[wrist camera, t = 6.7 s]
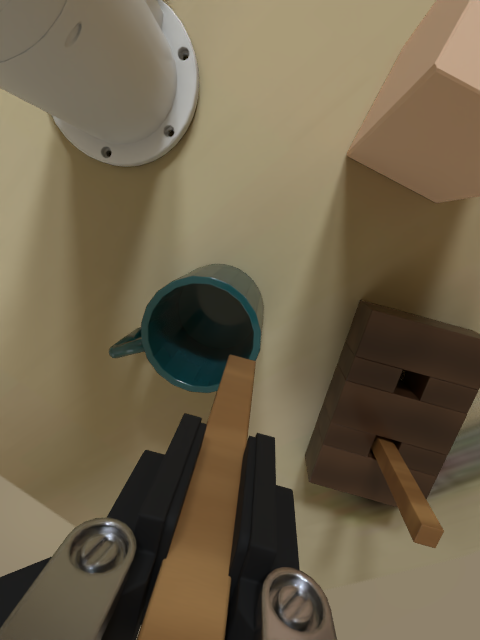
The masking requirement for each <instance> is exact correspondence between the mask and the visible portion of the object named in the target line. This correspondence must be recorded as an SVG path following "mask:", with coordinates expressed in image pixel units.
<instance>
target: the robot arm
mask: <svg viewBox="0 0 480 640" xmlns="http://www.w3.org/2000/svg"><path fill="white" fill-rule="evenodd" d="M185 56H188V59H186V60H183V58H184V57H185ZM0 88H1V89H3V90H5V91H7V92H9V93H11V94H13V95H15V96H17V97H19V98H20V99H22V100H24V101H26V102H28V103H30V104H32V105H34V106H36V107H38V108H40V109H41V110H43V111H45V112H47V113H49V114H51V115H52V117H53V119H54V121H55V123H56V125H57V126H58V127H59V129H60V130H61V132H62V133H63V134H64V136H65V137H66V138H67V139H68V140H69V141H70V142H71V143H72V144H73V145H74V146H75V147H76V148H78V149H79V150H81V151H82V152H83V153H85V154H86V155H88V156H90V157H92V158H94V159H96V160H99V161H101V162H104V163H107V164H110V165H115V166H124V167H129V166H139V165H143V164H146V163H149V162H152V161H155V160H156V159H158V158H160V157H161V156H163V155H165V154H166V153H167V152H169V151H170V150H171V149H172V148H173V147H174V146H175V145H176V144H177V143H178V142H179V140H180V139H181V138H182V137H183V135H184V134H185V133H186V131H187V129H188V127H189V125H190V123H191V121H192V119H193V116H194V112H195V109H196V105H197V101H198V93H199V70H198V64H197V60H196V55H195V51H194V49H193V46H192V43H191V41H190V38H189V36H188V34H187V32H186V30H185V28H184V26H183V24H182V22H181V21H180V20H179V18H178V17H177V16H176V14H175V13H174V12H173V10H172V9H171V8H170V7H169V6H168V5H167V4H166V3H165V2H163V1H162V0H0ZM171 131H174V134H173V136H172V137H170V136H169V133H170V132H171ZM110 151H111V156H110V157H109V155H108V154H109V152H110ZM201 419H202V418H200V417H197V416H193V415H189V414H186V413H185V414H184V415H183V417H182V420H181V422H180V424H179V426H178V428H177V430H176V433H175V435H174V437H173V439H172V441H171V443H170V446H169V448H168V450H167V452H166V454H165V455H164V454H160V453H156V452H153V451H149V450H145V451H144V452H143V454H142V456H141V457H140V459H139V461H138V463H137V465H136V466H135V468H134V470H133V472H132V473H131V475H130V477H129V479H128V481H127V482H126V484H125V486H124V488H123V489H122V491H121V493H120V495H119V497H118V498H117V500H116V502H115V504H114V505H113V507H112V509H111V511H110V513H109V514H108V516H107V517H106V518H95V519H92V520H89V521H86V522H84V523H82V524H80V525H79V526H77V527H75V528H74V530H73V531H72V532H71V533H70V534H69V535H68V536H67V537H66V538H65V540H64V541H63V543H62V544H61V545H60V547H59V548H58V549H57V551H56V552H55V554H54V555H53V556H52V557H50V558H47V559H45V560H42V561H40V562H37V563H35V564H32V565H30V566H27V567H25V568H22V569H20V570H17V571H15V572H12V573H10V574H7V575H5V576H2V577H0V640H136V638H137V635H138V631H139V629H140V626H141V625H142V622H143V619H144V616H145V613H146V610H147V607H148V603H149V600H150V597H151V594H152V591H153V588H154V585H155V582H156V579H157V576H158V573H159V569H160V566H161V563H162V561H163V560H164V559H166V558H167V555H168V552H169V548H170V545H171V542H172V539H173V536H174V532H175V529H176V526H177V523H178V520H179V516H180V513H181V510H182V507H183V504H184V501H185V497H186V494H187V491H188V488H189V485H190V481H191V478H192V475H193V472H194V469H195V465H196V462H197V459H198V456H199V453H200V449H201V446H202V443H203V439H204V435H205V431H206V427H207V424H204V423H201ZM228 576H230V577H231V589H230V598H229V607H228V616H227V625H226V634H225V640H337V637H336V633H335V628H334V623H333V618H332V613H331V609H330V606H329V603H328V599H327V597H326V595H325V594H324V592H323V590H322V589H321V587H320V586H319V585H318V584H317V583H316V582H315V581H314V580H313V579H312V578H311V577H310V576H308V575H307V574H305V573H304V572H302V571H300V570H299V558H298V546H297V534H296V522H295V510H294V498H293V491H292V490H291V489H289V488H285V487H281V486H278V485H276V469H275V438H274V437H271V436H267V435H263V434H260V433H257V434H256V437H252V436H249V438H248V441H247V444H246V448H245V451H244V454H243V460H242V469H241V477H240V485H239V493H238V501H237V509H236V517H235V526H234V534H233V542H232V550H231V558H230V566H229V574H228Z"/></svg>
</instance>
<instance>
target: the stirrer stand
mask: <svg viewBox="0 0 480 640" xmlns="http://www.w3.org/2000/svg"><path fill="white" fill-rule="evenodd" d="M403 369H404V370H407V373H406V375H405V377H404V380H403V381H400V380H399V378H400V375H401V373H402V371H403ZM479 388H480V334H478V333H476V332H474V331H472V330H469V329H465V328H461V327H458V326H454V325H450V324H447V323H443V322H439V321H436V320H432V319H428V318H425V317H421V316H417V315H414V314H410V313H406V312H403V311H399V310H395V309H392V308H388V307H384V306H381V305H377V304H373V303H370V302H366V301H362V300H360V302H359V305H358V308H357V311H356V313H355V316H354V319H353V322H352V325H351V327H350V330H349V333H348V336H347V339H346V342H345V344H344V347H343V350H342V353H341V356H340V358H339V361H338V364H337V366H336V369H335V372H334V375H333V378H332V380H331V383H330V386H329V389H328V392H327V394H326V397H325V400H324V403H323V406H322V409H321V411H320V414H319V417H318V420H317V423H316V425H315V428H314V431H313V434H312V437H311V440H310V442H309V445H308V448H307V451H306V454H305V459H306V466H307V472H308V479H309V482H311V483H314V484H318V485H321V486H325V487H328V488H332V489H335V490H339V491H342V492H346V493H349V494H353V495H356V496H360V497H364V498H367V499H371V500H374V501H378V502H381V503H385V504H388V505H392V506H395V507H398V506H397V504H396V502H395V500H394V497H393V495H392V493H391V491H390V489H389V486H388V484H387V482H386V480H385V478H384V475H383V473H382V471H381V469H380V467H379V464H378V462H377V460H376V458H375V456H374V453H373V451H372V449H371V446H372V444H373V441H374V439H375V437H376V435H378V436H381V437H385V438H388V439H392V441H393V443H394V444H395V446H396V448H397V450H398V451H399V453H400V455H401V457H402V458H403V460H404V462H405V464H406V465H407V467H408V469H409V471H410V472H411V474H412V476H413V478H414V479H415V481H416V483H417V485H418V486H419V488H420V490H421V492H422V493H423V495H424V497H425V499H427V497H428V495H429V493H430V491H431V489H432V486H433V484H434V482H435V480H436V478H437V476H438V474H439V472H440V470H441V468H442V465H443V463H444V461H445V459H446V457H447V455H448V453H449V451H450V449H451V447H452V445H453V443H454V441H455V439H456V437H457V435H458V432H459V430H460V428H461V426H462V424H463V422H464V420H465V418H466V416H467V413H468V411H469V409H470V407H471V405H472V403H473V401H474V398H475V396H476V394H477V392H478V390H479Z"/></svg>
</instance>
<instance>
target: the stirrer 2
mask: <svg viewBox="0 0 480 640" xmlns="http://www.w3.org/2000/svg"><path fill="white" fill-rule="evenodd" d="M371 449H372V451H373V453H374V456H375V458H376V460H377V462H378V464H379V467H380V469H381V471H382V473H383V475H384V478H385V480H386V482H387V484H388V486H389V489H390V491H391V493H392V495H393V497H394V500H395V502H396V504H397V506H398V508H399V511H400V513H401V515H402V517H403V520H404V522H405V524H406V526H407V528H408V531H409V533H410V535H411V537H412V539H413V542H415V543H418V544H422V545H425V546H429V547H432V548H436V546H437V544H438V542H439V540H440V538H441V536H442V534H443V532H444V530H443V528H442V527H441V525H440V523H439V521H438V520H437V518H436V516H435V514H434V513H433V511H432V509H431V507H430V506H429V504H428V502H427V500H426V499H425V497H424V495H423V493H422V492H421V490H420V488H419V486H418V485H417V483H416V481H415V479H414V478H413V476H412V474H411V472H410V471H409V469H408V467H407V465H406V464H405V462H404V460H403V458H402V457H401V455H400V453H399V451H398V450H397V448H396V446H395V444H394V443H393V441H392V439H388V438H385V437H381V436H378V435H376V437H375V439H374V441H373V444H372V446H371Z"/></svg>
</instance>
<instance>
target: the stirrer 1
mask: <svg viewBox="0 0 480 640" xmlns="http://www.w3.org/2000/svg"><path fill="white" fill-rule="evenodd" d="M255 365H256V362H255V361H253V360H249V359H245V358H241V357H238V356H234V355H229V356H228V359H227V363H226V366H225V369H224V372H223V375H222V378H221V381H220V384H219V387H218V390H217V393H216V396H215V400H214V403H213V406H212V409H211V412H210V415H209V418H208V421H207V427H206V431H205V435H204V439H203V443H202V446H201V449H200V453H199V456H198V459H197V462H196V465H195V469H194V472H193V475H192V478H191V481H190V485H189V488H188V491H187V494H186V497H185V501H184V504H183V507H182V510H181V513H180V516H179V520H178V523H177V526H176V529H175V532H174V536H173V539H172V542H171V545H170V548H169V552H168V555H167V558H166V559H164V560H163V561H162V563H161V566H160V569H159V573H158V576H157V579H156V582H155V585H154V588H153V591H152V594H151V597H150V600H149V603H148V607H147V610H146V613H145V616H144V619H143V622H142V625H141V628H140V631H139V634H138V637H137V640H225V634H226V625H227V616H228V607H229V598H230V589H231V577H230V576H228V574H229V566H230V558H231V550H232V542H233V534H234V526H235V517H236V509H237V501H238V493H239V485H240V477H241V469H242V460H243V454H244V451H245V448H246V444H247V437H248V428H249V419H250V410H251V401H252V392H253V383H254V374H255Z"/></svg>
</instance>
